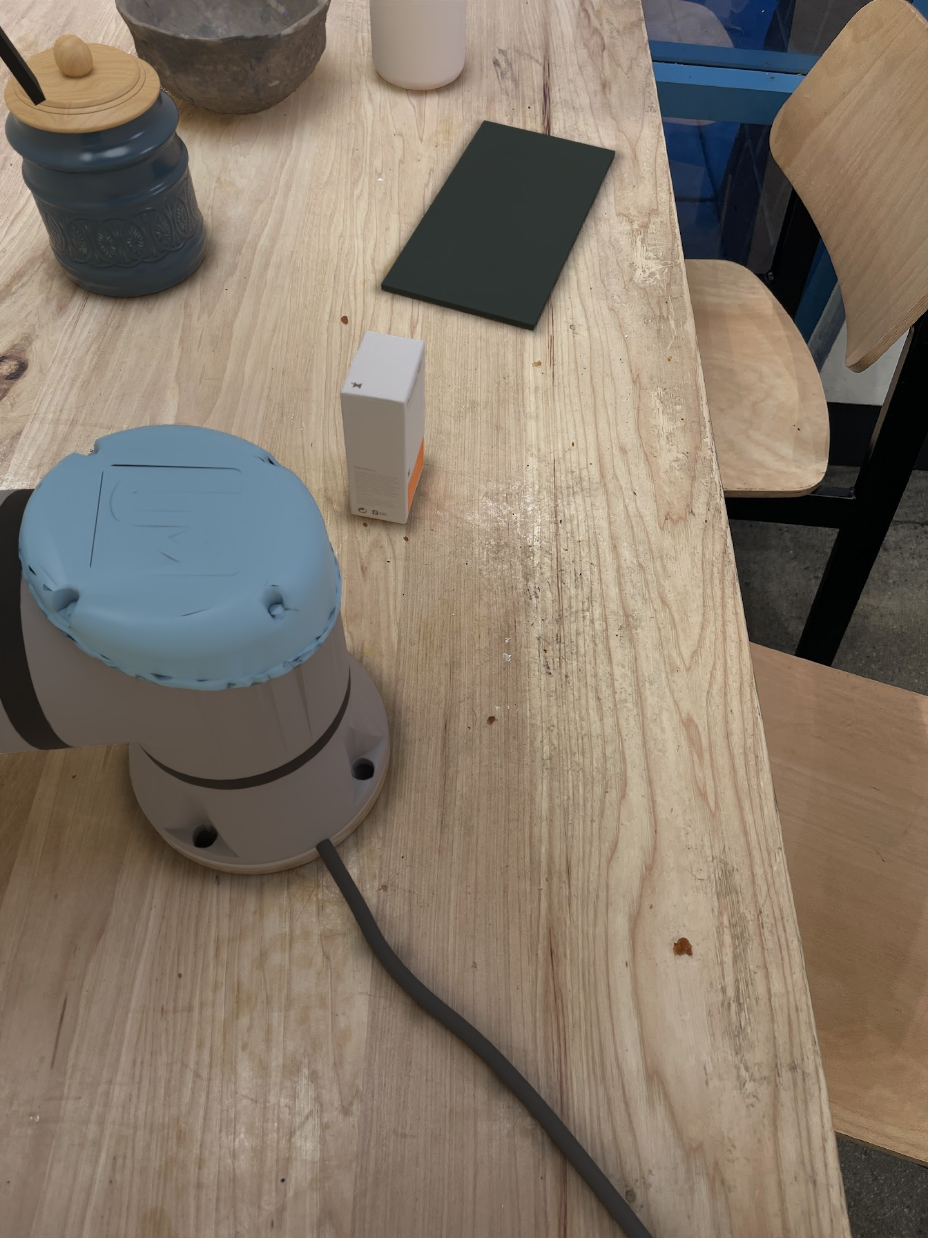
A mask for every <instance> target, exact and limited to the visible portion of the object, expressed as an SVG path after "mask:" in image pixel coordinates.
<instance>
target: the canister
mask: <svg viewBox="0 0 928 1238" xmlns="http://www.w3.org/2000/svg"><path fill="white" fill-rule="evenodd" d="M53 44H54V45H53V47H50V48H46V49H44V50H42V51H40V52H38V53H36V54H34V55H32V56H31V57H29V58H28V59H27V60H25V62H26V64H27V65H28V67H29V68H30V69H31V71H32V72H33V74H34V75H35V77H36V78H37V80H38V82H39V85H40V87H41V89H42V91H43V94H44V96H45V98H46V100H45V101H43V102H42V103H40V104H38V105H36V106H35V105H34V103H33V102H32V101H31V99H30V98H29V96H28V95H27V94H26V92H25V91H24V89H23V88H22V87H21V85H20V84H19V82H18V81H17V80H16V78H15V77H14V75H13V74H12V76H11V77H10V79H8V81H7V83H6V84H5V87H4V90H3V100H4V103H5V106H6V107H7V109H8V111H9V112H8V114H7V116H6V119H5V123H4V133H5V137H6V140H7V142H8V144H9V146H11V148H12V149H13V150H14V151H15V153H17V154H18V155H19V156H21V158H22V163H21V176H22V179H23V182H24V184H25V186H26V187H27V188H28V190H29V191H30V193H31V195H32V199H33V200H34V203H35V205H36V207H37V210H38V213H39V216H40V217H41V221H42V222H43V225H44V228H45V231H46V232H47V235H48V241H49V246H50V248H51V251H52V252H53V255H54V259H55V260H56V262H57V263H58V264H59V266H60V267H61V268H62V270H63V271H64V273H65V275H66V276H67V277H68V278H69V280H71V281H72V283H74V284H75V285H77V286H79V287H80V288H82V289H83V290H86V291H89V292H92V293H94V294H99V295H103V296H109V297H119V298H120V297H121V298H122V297H123V298H124V297H125V298H126V297H139V296H140V297H141V296H146V295H151V294H155V293H159V292H161V291H164V290H167V289H169V288H171V287H173V286H176V285H178V284H179V283H182V281H184V280H185V279H187V278H188V277H189V276H191V275H192V274H193V273H194V272H195V271H196V270H197V269H198V268H199V266H200V265H201V263H202V262H203V259H204V257H205V254H206V250H207V246H206V245H207V243H206V237H207V230H206V225H205V221H204V216H203V214H202V211H201V209H200V208H199V203H198V200H197V196H196V192H195V187H194V183H193V178H192V175H191V170H190V165H189V163H190V162H189V161H190V157H189V151H188V148H187V146H186V143H185V142H184V140H183V139H182V137H180V135H179V134H178V133H177V129H178V125H179V121H180V113H179V109H178V106H177V104H176V102H175V100H174V99H173V97H172V96H171V95H170V94H169V92H166V90H164V89H163V88H161V85H160V80H159V77H158V74H157V73H156V71H155V70H154V69H153V67H152V66H150V65H149V64H148V63H147V62H145V61H144V60H142V59H140V58H138V56H136V55H133V54H131V53H128V52H127V51H124V50H123V49H121V48H119V47H116V46H113V45H109V44H104V43H100V42H99V43H97V42H85V41H84V40H83V39H82V38H81V37H79V36H77V35H74V34H63V35H61V36H59V37H58V38H57V39H56V40H55V41H54V43H53Z"/></svg>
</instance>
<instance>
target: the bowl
mask: <svg viewBox="0 0 928 1238" xmlns="http://www.w3.org/2000/svg"><path fill="white" fill-rule="evenodd" d="M331 2H332V0H114V3H115V9H116V10H117V12H118V13H119V15H120V17H121V18H122V20H123V22H124V23H125V25H126V26H127V28H128V30H129V33H130V35H131V37H132V40H133V45H134V49H135V52H136V55H137V56H136V57H138V58H140V59H142V60H144V61H145V62H147V63H148V64H149V65H150V66H152V67H153V69H154V70H155V71H156V73H157V74H158V77H159V80H160V87H162V88H164V89H165V91H167V92H168V93H170V94H172V95H173V96H175V97H176V98H177V99H179V100H182V101H183V102H184V103H187V104H188V105H190V106H192V107H194V108H197V109H200V110H203V111H207V112H209V113H213V114H217V115H227V116H245V115H251V114H258V113H260V112H263V111H266V110H268V109H270V108H272V107H274V106H276V105H277V104H279V103H281V102H283V101H285V100H286V99H288V98H289V97H290V96H291V95H292V94H294V93H296V92H297V90H298V89H299V88H300V87H301V86H302V85H303V84H304V83H305V82H306V81H307V79H309V78H310V76H312V74H313V72H314V71H315V69H316V67H317V65H318V64H319V62H320V61H321V59H322V56H323V54H324V52H325V50H326V47H327V27H326V23H327V17H328V15H327V14H328V12H329V9H330V6H331Z"/></svg>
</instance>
